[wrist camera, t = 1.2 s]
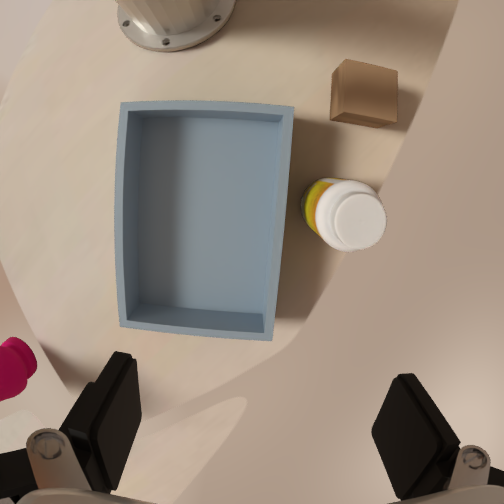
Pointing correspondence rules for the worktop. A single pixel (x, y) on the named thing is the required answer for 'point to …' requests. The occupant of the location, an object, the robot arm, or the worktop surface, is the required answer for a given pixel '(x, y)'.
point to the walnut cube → (364, 94)
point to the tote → (201, 216)
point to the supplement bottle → (344, 213)
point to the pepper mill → (15, 367)
